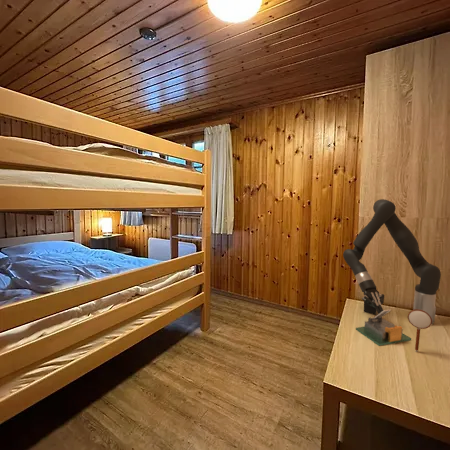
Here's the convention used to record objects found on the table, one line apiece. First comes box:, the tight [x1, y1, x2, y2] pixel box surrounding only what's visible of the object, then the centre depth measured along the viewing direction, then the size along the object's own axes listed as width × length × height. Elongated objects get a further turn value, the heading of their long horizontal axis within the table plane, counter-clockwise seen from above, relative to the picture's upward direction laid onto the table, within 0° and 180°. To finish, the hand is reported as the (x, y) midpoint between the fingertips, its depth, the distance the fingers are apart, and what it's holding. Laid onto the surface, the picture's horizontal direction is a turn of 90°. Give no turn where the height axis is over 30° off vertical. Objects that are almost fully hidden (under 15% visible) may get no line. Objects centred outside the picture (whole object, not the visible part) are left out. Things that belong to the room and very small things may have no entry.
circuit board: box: [355, 316, 412, 347], centre depth 128 cm, size 19×15×8 cm
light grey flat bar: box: [371, 308, 392, 320], centre depth 129 cm, size 4×11×1 cm
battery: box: [363, 300, 378, 316], centre depth 152 cm, size 7×4×11 cm, turn 47°
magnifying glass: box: [407, 309, 433, 352], centre depth 114 cm, size 9×2×20 cm, turn 49°
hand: (381, 313), depth 129 cm, fingers closed
